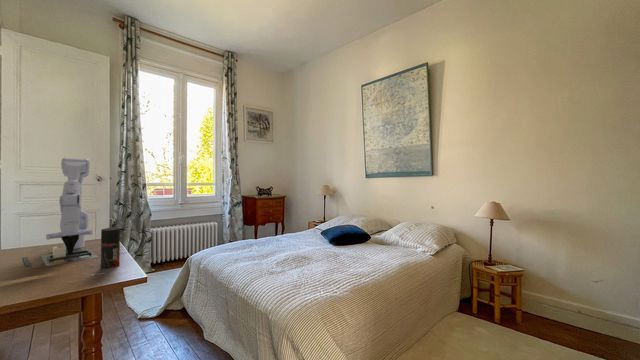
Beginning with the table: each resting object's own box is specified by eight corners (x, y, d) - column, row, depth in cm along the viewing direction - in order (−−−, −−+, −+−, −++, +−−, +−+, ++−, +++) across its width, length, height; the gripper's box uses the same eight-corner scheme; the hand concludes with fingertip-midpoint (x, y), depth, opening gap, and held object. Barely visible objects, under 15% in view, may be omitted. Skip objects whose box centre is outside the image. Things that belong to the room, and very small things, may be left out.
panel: (40, 258, 117) (40, 253, 117) (88, 250, 129) (88, 246, 129) (46, 269, 104) (46, 263, 104) (99, 259, 117) (99, 255, 116)
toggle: (52, 257, 114) (52, 246, 114) (64, 256, 117) (64, 244, 117) (54, 259, 112) (54, 248, 112) (65, 257, 114) (65, 246, 114)
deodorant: (111, 269, 106) (112, 230, 106) (96, 268, 106) (97, 230, 106) (123, 264, 112) (123, 227, 112) (108, 263, 112) (109, 227, 112)
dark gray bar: (22, 260, 113) (22, 257, 113) (27, 260, 114) (27, 256, 114) (25, 270, 103) (25, 266, 103) (30, 269, 104) (30, 265, 104)
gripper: (47, 225, 108) (47, 259, 109) (94, 221, 120) (93, 251, 120) (45, 222, 113) (45, 255, 113) (90, 219, 124) (90, 248, 124)
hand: (70, 253), depth 117 cm, fingers closed
